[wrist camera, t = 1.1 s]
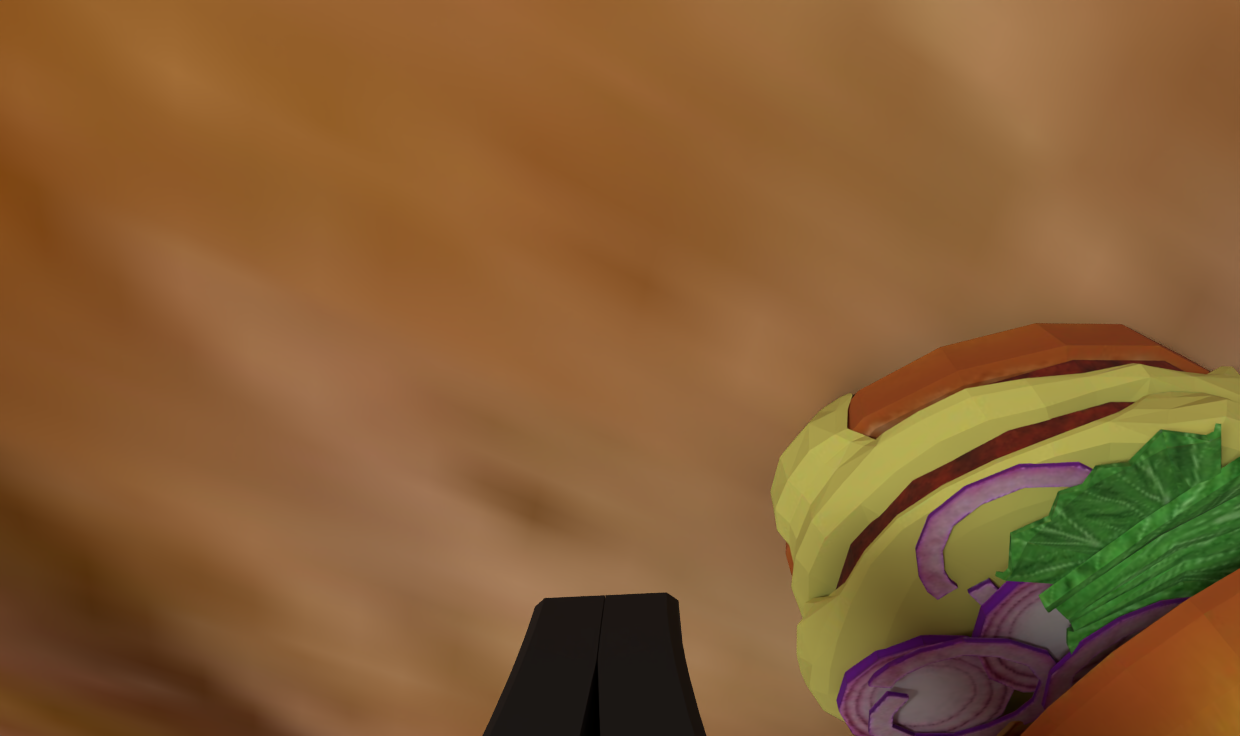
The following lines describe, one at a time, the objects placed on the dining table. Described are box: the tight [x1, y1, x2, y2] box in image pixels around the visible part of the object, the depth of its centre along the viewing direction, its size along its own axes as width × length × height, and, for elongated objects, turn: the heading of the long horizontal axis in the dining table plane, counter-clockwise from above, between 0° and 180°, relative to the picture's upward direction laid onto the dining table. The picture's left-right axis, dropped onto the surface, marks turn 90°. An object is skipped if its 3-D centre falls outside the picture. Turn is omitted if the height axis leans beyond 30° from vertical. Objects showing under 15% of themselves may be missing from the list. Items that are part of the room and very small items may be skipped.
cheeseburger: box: [771, 323, 1240, 736], centre depth 19 cm, size 10×11×10 cm
